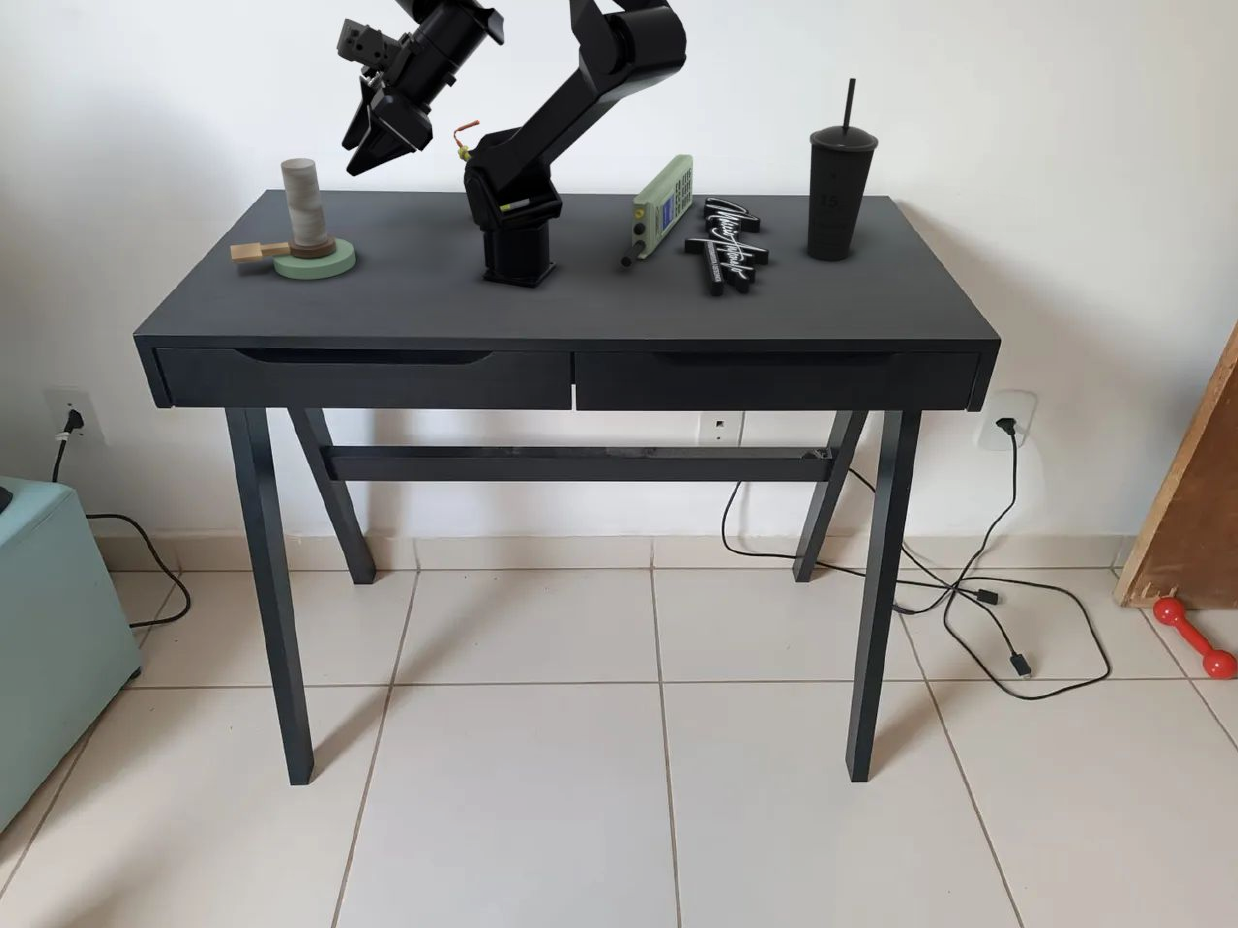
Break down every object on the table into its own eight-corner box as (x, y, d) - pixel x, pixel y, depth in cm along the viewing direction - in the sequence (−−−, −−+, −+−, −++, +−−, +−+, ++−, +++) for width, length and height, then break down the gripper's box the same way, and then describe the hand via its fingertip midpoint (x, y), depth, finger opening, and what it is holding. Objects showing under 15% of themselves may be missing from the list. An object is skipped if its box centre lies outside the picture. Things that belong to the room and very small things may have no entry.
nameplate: (677, 197, 125) (753, 198, 125) (677, 208, 126) (752, 209, 126) (691, 282, 103) (783, 283, 103) (690, 295, 104) (781, 296, 104)
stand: (370, 255, 111) (368, 243, 110) (327, 284, 104) (324, 272, 103) (304, 244, 114) (302, 232, 113) (258, 272, 107) (255, 260, 106)
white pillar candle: (333, 238, 111) (319, 154, 105) (339, 254, 107) (325, 167, 101) (231, 250, 107) (211, 163, 102) (233, 267, 103) (213, 178, 98)
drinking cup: (796, 239, 118) (818, 69, 106) (859, 244, 117) (888, 73, 105) (793, 262, 112) (816, 84, 100) (859, 268, 110) (889, 89, 99)
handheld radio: (695, 205, 127) (640, 275, 108) (672, 203, 128) (613, 272, 109) (697, 155, 124) (639, 218, 104) (672, 153, 125) (611, 215, 105)
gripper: (370, -24, 102) (282, 87, 106) (385, 6, 88) (283, 134, 91) (449, 50, 109) (363, 153, 112) (475, 90, 94) (376, 207, 98)
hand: (346, 160), depth 103 cm, fingers open, 9 cm apart
